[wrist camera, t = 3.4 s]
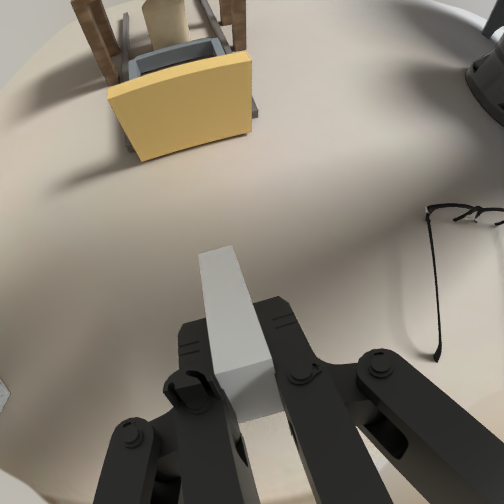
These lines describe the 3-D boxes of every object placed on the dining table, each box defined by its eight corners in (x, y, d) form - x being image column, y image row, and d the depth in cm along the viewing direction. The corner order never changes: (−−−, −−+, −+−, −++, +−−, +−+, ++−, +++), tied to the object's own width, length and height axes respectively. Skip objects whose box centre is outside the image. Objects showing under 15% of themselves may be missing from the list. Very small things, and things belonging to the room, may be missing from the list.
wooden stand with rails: (216, -5, 41) (210, -71, 27) (278, 113, 33) (289, -1, 18) (113, 22, 40) (91, -40, 25) (110, 159, 31) (47, 63, 16)
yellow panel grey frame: (218, 49, 35) (212, -10, 26) (251, 131, 31) (251, 60, 22) (133, 71, 34) (112, 16, 25) (141, 161, 30) (107, 99, 21)
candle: (194, 51, 36) (184, -5, 26) (156, 62, 36) (140, 7, 26) (187, 34, 37) (178, -18, 28) (152, 44, 37) (138, -7, 27)
